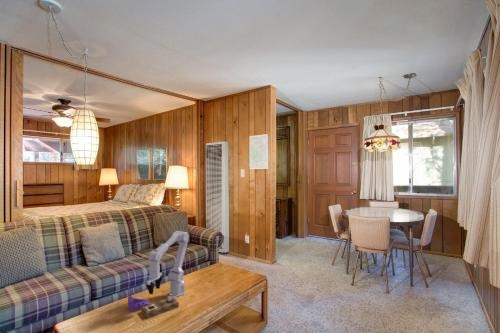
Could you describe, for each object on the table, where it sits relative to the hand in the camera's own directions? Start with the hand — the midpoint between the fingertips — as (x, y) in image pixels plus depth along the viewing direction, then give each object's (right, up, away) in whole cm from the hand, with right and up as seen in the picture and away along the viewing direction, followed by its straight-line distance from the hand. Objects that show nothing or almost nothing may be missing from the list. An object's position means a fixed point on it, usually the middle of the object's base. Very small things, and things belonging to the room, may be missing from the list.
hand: (154, 291), depth 168 cm
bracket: (-10, -11, 0) cm, 15 cm away
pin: (+9, -10, +1) cm, 14 cm away
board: (+5, -10, -3) cm, 12 cm away
